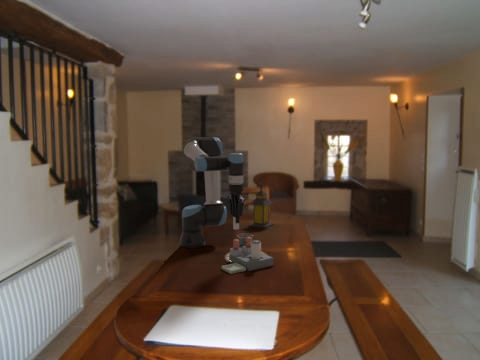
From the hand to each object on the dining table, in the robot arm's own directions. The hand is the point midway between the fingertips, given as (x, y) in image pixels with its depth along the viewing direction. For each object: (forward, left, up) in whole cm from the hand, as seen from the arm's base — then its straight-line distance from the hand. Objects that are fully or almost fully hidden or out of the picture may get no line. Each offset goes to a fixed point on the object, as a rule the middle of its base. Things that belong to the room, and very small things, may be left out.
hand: (236, 228), depth 212 cm
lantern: (-61, +62, -18) cm, 88 cm away
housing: (+6, +5, -18) cm, 19 cm away
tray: (+9, -8, -18) cm, 21 cm away
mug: (-10, +13, -18) cm, 24 cm away
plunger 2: (0, +8, -10) cm, 13 cm away
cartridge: (+10, +5, -18) cm, 21 cm away
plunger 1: (0, 0, -10) cm, 10 cm away
